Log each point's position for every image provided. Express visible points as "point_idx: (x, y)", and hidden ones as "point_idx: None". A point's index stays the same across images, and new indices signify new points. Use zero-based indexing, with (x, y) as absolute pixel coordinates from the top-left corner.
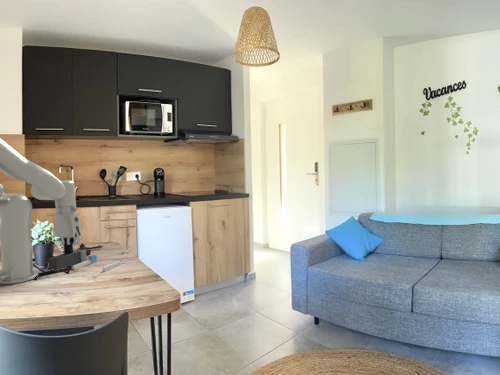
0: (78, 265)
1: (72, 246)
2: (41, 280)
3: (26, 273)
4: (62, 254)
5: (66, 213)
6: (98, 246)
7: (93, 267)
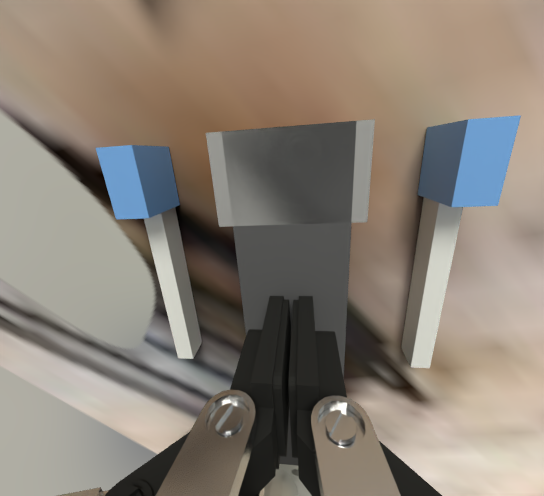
0: (431, 332)
1: (342, 377)
2: None
3: None
4: None
5: None
6: None
7: (535, 288)
